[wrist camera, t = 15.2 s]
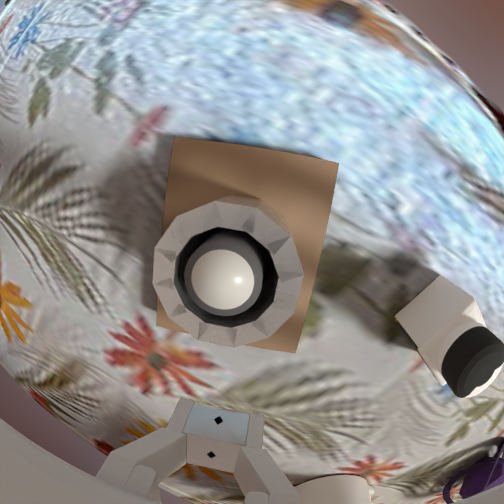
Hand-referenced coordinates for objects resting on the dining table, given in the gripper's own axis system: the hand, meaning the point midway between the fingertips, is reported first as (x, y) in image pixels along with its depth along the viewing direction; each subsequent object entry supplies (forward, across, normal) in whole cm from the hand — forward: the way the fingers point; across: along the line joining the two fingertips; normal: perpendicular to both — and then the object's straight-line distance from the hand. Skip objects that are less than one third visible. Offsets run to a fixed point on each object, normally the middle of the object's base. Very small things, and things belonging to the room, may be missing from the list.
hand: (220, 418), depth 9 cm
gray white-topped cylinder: (+16, +2, -2) cm, 16 cm away
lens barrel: (+17, +2, -2) cm, 17 cm away
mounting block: (+19, +2, -2) cm, 20 cm away
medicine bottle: (+20, -20, +2) cm, 28 cm away
